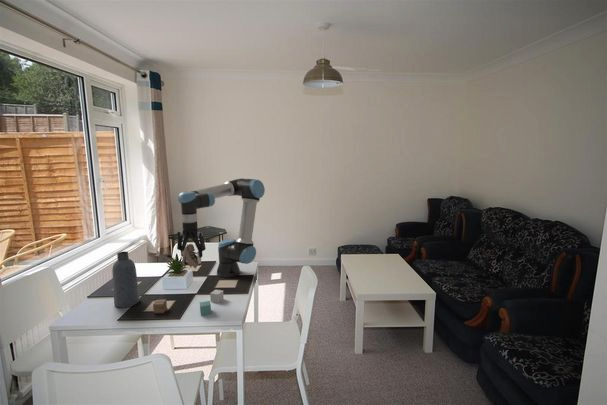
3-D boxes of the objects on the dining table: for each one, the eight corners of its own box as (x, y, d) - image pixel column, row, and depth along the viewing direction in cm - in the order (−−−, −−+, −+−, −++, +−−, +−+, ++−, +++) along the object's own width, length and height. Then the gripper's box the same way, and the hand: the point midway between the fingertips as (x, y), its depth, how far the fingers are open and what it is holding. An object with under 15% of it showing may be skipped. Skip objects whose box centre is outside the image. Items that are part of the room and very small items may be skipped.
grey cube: (215, 297, 183) (215, 289, 183) (223, 299, 182) (223, 290, 181) (210, 301, 179) (210, 293, 178) (218, 303, 177) (218, 294, 176)
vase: (113, 310, 169) (108, 258, 165) (114, 300, 180) (110, 251, 175) (139, 305, 175) (135, 254, 170) (139, 296, 185) (135, 248, 181)
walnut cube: (157, 308, 171) (156, 299, 170) (166, 308, 171) (166, 299, 171) (153, 313, 166) (152, 304, 165) (163, 313, 166) (163, 303, 166)
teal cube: (200, 311, 168) (199, 302, 167) (210, 309, 170) (209, 300, 169) (200, 316, 164) (200, 306, 163) (211, 314, 165) (210, 305, 164)
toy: (206, 263, 179) (197, 240, 173) (196, 273, 172) (187, 249, 166) (193, 262, 183) (184, 239, 177) (183, 271, 176) (173, 248, 170)
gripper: (167, 222, 170) (170, 263, 174) (204, 223, 167) (207, 266, 170) (175, 219, 177) (178, 259, 181) (211, 220, 174) (213, 261, 178)
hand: (192, 262), depth 176 cm, fingers closed on toy, 8 cm apart
